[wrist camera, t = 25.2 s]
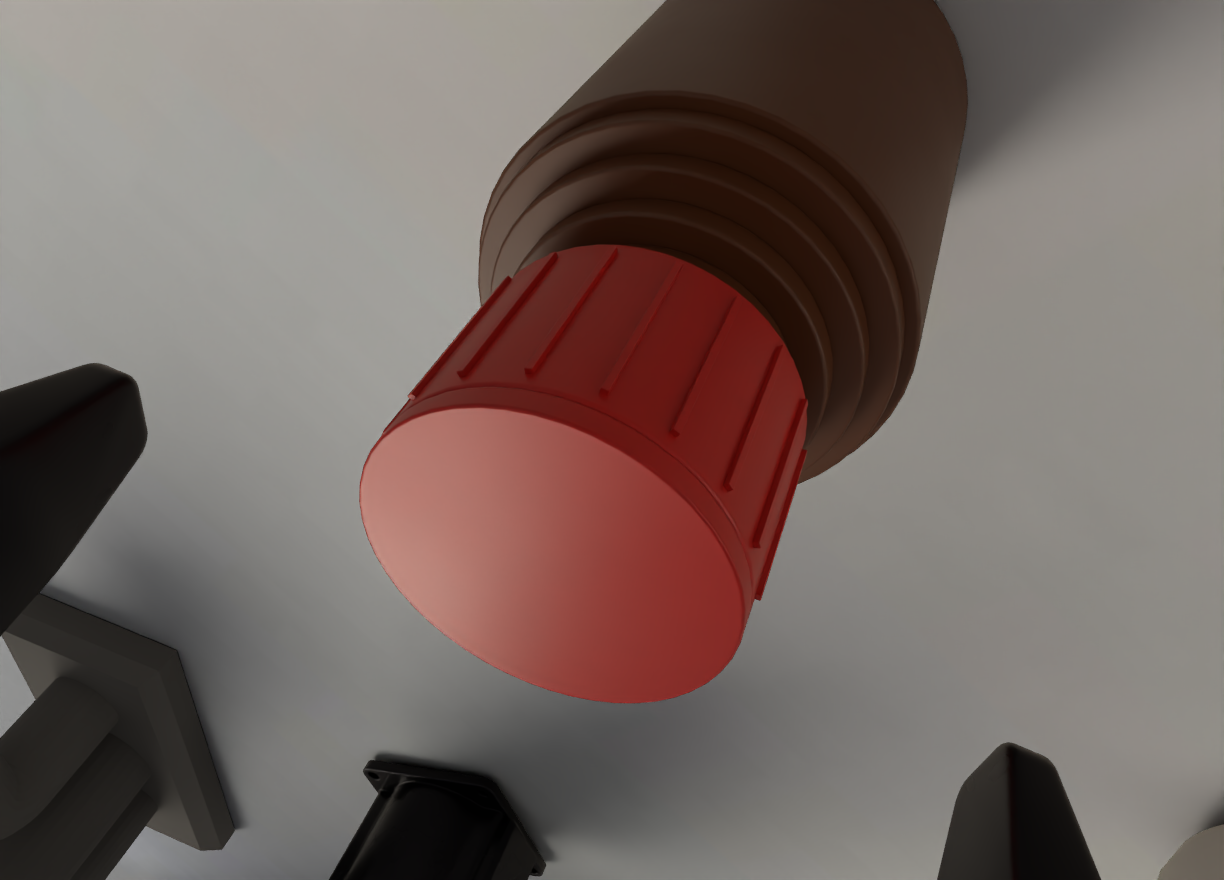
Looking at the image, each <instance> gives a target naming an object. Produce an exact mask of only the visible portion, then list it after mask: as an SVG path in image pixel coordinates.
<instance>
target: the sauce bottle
mask: <svg viewBox="0 0 1224 880" xmlns="http://www.w3.org/2000/svg"><path fill="white" fill-rule="evenodd" d="M967 106H968V99H967V80H966V75H965V70H964V64H963V59H962V56H961V53H960V50H959V47H958V44H957V41H956V38H955V36H954V34H953V32H952V30H951V28H950V26H949V24H948V22H947V20H946V18H945V16H944V14H943V13H942V12H941V10H940V9H939V7H938V6H937V5H936V3H935V2H934V0H666V1H665V2H664V3H663V4H662V5H661V6H660V7H659V8H658V9H657V10H656V11H655V13H654V14H653V15H652V16H651V17H650V18H649V19H648V20H647V21H646V22H645V23H644V24H643V25H642V26H641V27H640V28H639V29H638V30H637V31H636V32H635V33H634V34H633V35H632V36H631V37H630V38H629V39H628V40H627V41H626V42H625V43H624V44H623V45H622V46H621V47H620V48H619V49H618V50H617V51H616V52H615V53H614V54H613V55H612V56H611V57H610V58H609V59H608V60H607V61H606V62H605V63H604V64H603V65H602V66H601V67H600V68H599V69H598V70H597V71H596V72H595V73H594V74H593V75H592V76H591V77H590V78H589V79H588V80H587V81H586V82H585V83H584V84H583V85H582V86H581V87H580V88H579V89H578V90H577V91H576V92H575V93H574V95H573V96H572V97H571V98H570V99H569V100H568V101H567V102H566V103H565V104H564V105H563V106H562V107H561V108H560V109H559V110H558V111H557V112H556V113H555V114H554V115H553V116H552V117H551V118H550V119H549V120H548V121H547V122H546V123H545V124H544V125H543V126H542V127H541V128H540V129H539V130H538V131H537V132H536V133H535V134H534V135H533V136H532V137H531V138H530V139H529V140H528V141H527V142H526V143H525V144H524V145H523V146H522V147H521V148H520V149H519V150H518V152H517V153H516V154H515V156H514V157H513V158H512V160H511V161H510V162H509V164H508V165H507V166H506V168H505V169H504V170H503V172H502V174H501V176H500V178H499V180H498V182H497V184H496V186H495V188H494V189H493V191H492V194H491V197H490V200H489V203H488V206H487V209H486V212H485V215H484V219H483V225H482V231H481V237H480V256H479V278H478V285H479V293H480V302H481V306H482V305H483V304H484V303H485V302H486V300H487V299H488V298H489V297H490V296H491V294H492V293H493V292H494V291H495V289H496V288H497V287H498V286H499V285H500V283H501V282H502V281H503V280H504V279H505V278H506V277H507V276H509V277H510V278H511V279H512V278H513V277H514V276H515V275H516V274H517V273H518V272H519V271H520V270H522V269H524V268H525V267H527V266H528V265H530V264H531V263H533V262H534V261H536V260H538V259H541V258H543V257H545V256H548V255H549V254H550V253H552V252H559V251H563V250H566V249H570V248H574V247H581V246H589V245H597V244H600V245H626V246H633V247H641V248H646V249H650V250H654V251H658V252H661V253H665V254H669V255H671V256H674V257H676V258H679V259H682V260H684V261H687V262H689V263H692V264H694V265H696V266H697V267H699V268H701V269H703V270H705V271H707V272H709V273H711V274H713V275H714V276H716V277H717V278H719V279H720V280H722V281H723V282H725V283H726V284H728V285H729V286H731V287H732V288H734V289H735V290H736V291H737V292H739V293H740V294H741V295H742V296H743V297H745V298H746V299H747V300H748V301H749V302H750V303H752V304H753V305H754V306H755V307H756V308H757V310H758V311H759V312H760V313H761V314H762V315H763V316H764V317H765V318H766V319H767V320H768V321H769V323H770V324H771V325H772V327H773V328H774V329H775V331H776V332H777V333H778V335H779V336H780V338H781V339H782V340H783V342H784V344H785V346H786V347H787V349H788V351H789V353H790V355H791V357H792V358H793V360H794V363H795V366H796V368H797V371H798V373H799V376H800V379H801V381H802V385H803V390H804V394H805V399H807V401H808V407H807V427H806V437H805V441H804V445H803V448H802V449H804V450H807V454H806V458H805V461H804V464H803V467H802V470H801V474H800V477H799V480H798V483H797V484H799V483H802V482H804V481H806V480H808V479H811V478H813V477H815V476H817V475H819V474H821V473H823V472H824V471H826V470H828V469H829V468H831V467H832V466H834V465H836V464H837V463H839V462H840V461H841V460H842V459H844V458H845V457H846V456H847V455H849V454H851V453H852V452H854V451H855V450H856V449H858V448H859V447H860V446H861V445H862V444H863V443H865V442H866V441H867V440H868V439H869V438H871V437H872V436H873V435H874V434H875V433H876V432H877V431H878V429H879V428H880V427H881V426H882V425H883V424H884V423H885V421H886V420H887V419H888V418H889V417H890V416H891V414H892V413H893V411H894V409H895V408H896V406H897V405H898V403H899V401H900V400H901V398H902V397H903V395H904V393H905V390H906V388H907V386H908V383H909V381H910V379H911V376H912V374H913V371H914V367H915V363H916V359H917V355H918V351H919V347H920V342H921V337H922V332H923V328H924V323H925V318H926V313H927V308H928V304H929V299H930V294H931V289H932V285H933V280H934V275H935V270H936V265H937V261H938V256H939V251H940V246H941V242H942V237H943V232H944V227H945V222H946V218H947V213H948V208H949V203H950V198H951V194H952V189H953V184H954V179H955V175H956V170H957V165H958V160H959V155H960V151H961V146H962V141H963V136H964V132H965V127H966V117H967Z"/></svg>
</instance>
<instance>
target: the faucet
mask: <svg viewBox="0 0 1224 880" xmlns="http://www.w3.org/2000/svg"><path fill="white" fill-rule="evenodd" d="M2 637H3V639H4V641H5V643H6V645H7V646H8V648H9V650H10V652H11V654H12V656H13V658H14V660H15V662H16V663H17V665H18V667H19V669H20V671H21V673H22V675H23V677H24V679H25V680H26V682H27V684H28V686H29V688H30V690H31V692H32V694H33V696H34V697H35V699H36V700H35V701H34V703H33V704H32V705H31V706H30V707H29V708H28V709H27V710H26V711H25V712H24V713H23V714H22V715H21V716H20V718H19V719H18V720H17V721H16V722H15V723H14V724H13V725H12V726H11V727H10V728H9V729H8V730H7V731H6V732H5V734H4V735H3V736H2V737H1V738H0V880H105V879H106V878H107V876H108V875H109V874H110V872H111V871H112V870H113V869H114V867H115V866H116V865H117V863H118V862H119V861H120V859H121V858H122V857H123V855H124V854H125V853H126V851H127V850H128V849H129V847H130V846H131V845H132V843H133V842H134V841H135V839H136V838H137V837H138V835H139V834H140V833H141V831H142V830H143V829H144V827H145V826H147V827H149V828H151V829H154V830H156V831H158V832H160V833H163V834H165V835H167V836H169V837H171V838H174V839H176V840H178V841H180V842H182V843H185V844H187V845H189V846H191V847H194V848H196V849H198V850H200V851H205V850H222V849H223V847H224V846H225V844H226V843H227V842H228V840H229V839H230V837H231V836H232V834H233V833H234V831H235V830H234V827H233V824H232V821H231V818H230V815H229V811H228V808H227V805H226V802H225V799H224V796H223V793H222V790H221V787H220V784H219V781H218V777H217V774H216V771H215V768H214V765H213V762H212V759H211V756H210V753H209V750H208V747H207V743H206V740H205V737H204V734H203V731H202V728H201V725H200V722H199V719H198V716H197V713H196V709H195V706H194V703H193V700H192V697H191V694H190V691H189V688H188V685H187V682H186V679H185V675H184V672H183V669H182V666H181V663H180V660H179V657H178V654H177V651H176V650H174V649H171V648H169V647H167V646H164V645H162V644H159V643H157V642H154V641H152V640H150V639H147V638H145V637H142V636H140V635H138V634H135V633H133V632H130V631H128V630H125V629H123V628H121V627H118V626H116V625H113V624H111V623H109V622H106V621H104V620H101V619H99V618H96V617H94V616H92V615H89V614H87V613H84V612H82V611H79V610H77V609H75V608H72V607H70V606H67V605H65V604H63V603H60V602H58V601H55V600H53V599H50V598H48V597H46V596H43V595H41V594H38V595H37V596H36V597H35V598H34V599H33V600H32V601H31V602H30V604H29V605H28V606H27V607H26V608H25V609H24V610H23V612H22V613H21V614H20V615H19V616H18V617H17V618H16V619H15V621H14V622H13V623H12V624H11V625H10V626H9V627H8V629H7V630H6V631H5V632H4V633H3V634H2Z"/></svg>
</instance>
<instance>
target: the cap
mask: <svg viewBox="0 0 1224 880" xmlns="http://www.w3.org/2000/svg"><path fill="white" fill-rule="evenodd" d="M408 397H409V398H410V399H409V400H408V401H407V403H406V404H405V405H404V406H403V408H402V409H401V410H400V411H399V412H398V414H397V415H396V416H395V417H394V418H393V420H392V421H391V422H390V423H389V425H388V426H387V427H386V428H385V429H384V431H383V434H382V436H381V437H380V439H379V440H378V441H377V443H376V444H375V445H374V447H373V448H372V449H371V451H370V453H369V455H368V457H367V460H366V462H365V464H364V467H363V472H362V476H361V481H360V499H359V501H360V508H361V515H362V520H363V524H364V527H365V530H366V534H367V537H368V539H369V541H370V544H371V546H372V548H373V550H374V553H375V555H376V556H377V558H378V560H379V562H380V563H381V565H382V567H383V568H384V570H385V572H386V573H387V575H388V576H389V577H390V579H391V580H392V581H393V583H394V584H395V586H396V587H397V588H398V590H399V591H400V592H401V593H402V594H403V595H404V597H405V598H406V599H407V600H408V601H409V602H410V603H411V605H412V606H413V607H414V608H415V609H416V610H417V611H419V612H420V613H421V614H422V615H423V616H424V617H425V618H426V619H427V620H428V621H429V622H430V623H431V624H432V625H434V626H435V627H436V628H437V629H438V630H440V631H441V632H442V633H443V634H444V635H446V636H447V637H448V638H450V639H451V640H452V641H454V642H455V643H457V644H458V645H459V646H461V647H462V648H464V649H465V650H467V651H468V652H470V653H471V654H473V655H475V656H476V657H478V658H480V659H481V660H483V661H484V662H486V663H488V664H490V665H492V666H494V667H496V668H498V669H499V670H501V671H503V672H505V673H507V674H510V675H512V676H514V677H516V678H519V679H521V680H523V681H525V682H528V683H531V684H533V685H536V686H539V687H542V688H544V689H547V690H550V691H554V692H558V693H561V694H565V695H568V696H572V697H577V698H582V699H587V700H593V701H602V702H610V703H644V702H655V701H660V700H665V699H670V698H675V697H677V696H680V695H683V694H686V693H689V692H691V691H693V690H695V689H697V688H699V687H701V686H703V685H705V684H706V683H708V682H709V681H710V680H712V679H713V678H714V677H715V676H717V675H718V674H719V673H720V672H721V671H722V670H723V669H724V668H725V667H726V665H727V664H728V663H729V662H730V661H731V660H732V658H733V656H734V654H735V653H736V651H737V649H738V647H739V645H740V643H741V640H742V637H743V633H744V630H745V627H746V624H747V620H748V618H749V615H750V612H751V608H752V605H753V602H754V599H756V600H759V601H760V600H761V598H762V595H763V592H764V589H765V585H766V582H767V579H768V576H769V573H770V569H771V566H772V563H773V560H774V557H775V553H776V550H777V547H778V544H779V541H780V537H781V534H782V531H783V528H784V525H785V522H786V518H787V515H788V512H789V509H790V506H791V502H792V499H793V496H794V493H795V490H796V486H797V483H798V480H799V477H800V474H801V470H802V467H803V464H804V461H805V458H806V454H807V450H804V449H802V448H803V445H804V441H805V437H806V427H807V407H808V401H807V399H805V394H804V390H803V385H802V381H801V379H800V376H799V373H798V371H797V368H796V366H795V363H794V360H793V358H792V357H791V355H790V353H789V351H788V349H787V347H786V346H785V344H784V342H783V340H782V339H781V338H780V336H779V335H778V333H777V332H776V331H775V329H774V328H773V327H772V325H771V324H770V323H769V321H768V320H767V319H766V318H765V317H764V316H763V315H762V314H761V313H760V312H759V311H758V310H757V308H756V307H755V306H754V305H753V304H752V303H750V302H749V301H748V300H747V299H746V298H745V297H743V296H742V295H741V294H740V293H739V292H737V291H736V290H735V289H734V288H732V287H731V286H729V285H728V284H726V283H725V282H723V281H722V280H720V279H719V278H717V277H716V276H714V275H713V274H711V273H709V272H707V271H705V270H703V269H701V268H699V267H697V266H696V265H694V264H692V263H689V262H687V261H684V260H682V259H679V258H676V257H674V256H671V255H669V254H665V253H661V252H658V251H654V250H650V249H646V248H641V247H633V246H626V245H600V244H597V245H589V246H581V247H574V248H570V249H566V250H563V251H559V252H552V253H550V254H549V255H548V256H545V257H543V258H541V259H538V260H536V261H534V262H533V263H531V264H530V265H528V266H527V267H525V268H524V269H522V270H520V271H519V272H518V273H517V274H516V275H515V276H514V277H513V278H512V279H511V278H510V277H509V276H507V277H506V278H505V279H504V280H503V281H502V282H501V283H500V285H499V286H498V287H497V288H496V289H495V291H494V292H493V293H492V294H491V296H490V297H489V298H488V299H487V300H486V302H485V303H484V304H483V305H482V306H481V308H480V309H479V310H478V311H477V313H476V314H475V315H474V316H473V317H472V319H471V320H470V321H469V322H468V323H467V325H466V326H465V327H464V328H463V329H462V331H461V332H460V333H459V334H458V336H457V337H456V338H455V339H454V340H453V342H452V343H451V344H450V345H449V346H448V348H447V349H446V350H445V351H444V352H443V354H442V355H441V356H440V357H439V359H438V360H437V361H436V362H435V363H434V365H433V366H432V367H431V368H430V369H429V371H428V372H427V373H426V374H425V375H424V377H423V378H422V379H421V380H420V382H419V383H418V384H417V385H416V386H415V388H414V389H413V390H412V391H411V392H410V394H409V395H408Z"/></svg>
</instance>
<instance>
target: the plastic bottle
mask: <svg viewBox="0 0 1224 880" xmlns="http://www.w3.org/2000/svg"><path fill="white" fill-rule="evenodd" d="M1157 880H1224V825H1219V826H1215V827H1212V828H1209V829H1207V830H1204V831H1202V832H1199V833H1197V834H1195V835H1194V836H1192V837H1191V838H1189V839H1188V840H1186V841H1185V842H1184V843H1183V844H1182V845H1181V847H1180V848H1179V849H1178V850H1177V851H1176V852H1175V854H1174V855H1173V856H1172V857H1171V858H1170V859H1169V861H1168V862H1167V863H1166V864H1165V865H1164V867H1163V868H1162V869H1161V871H1160V874H1159V877H1158V879H1157Z"/></svg>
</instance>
